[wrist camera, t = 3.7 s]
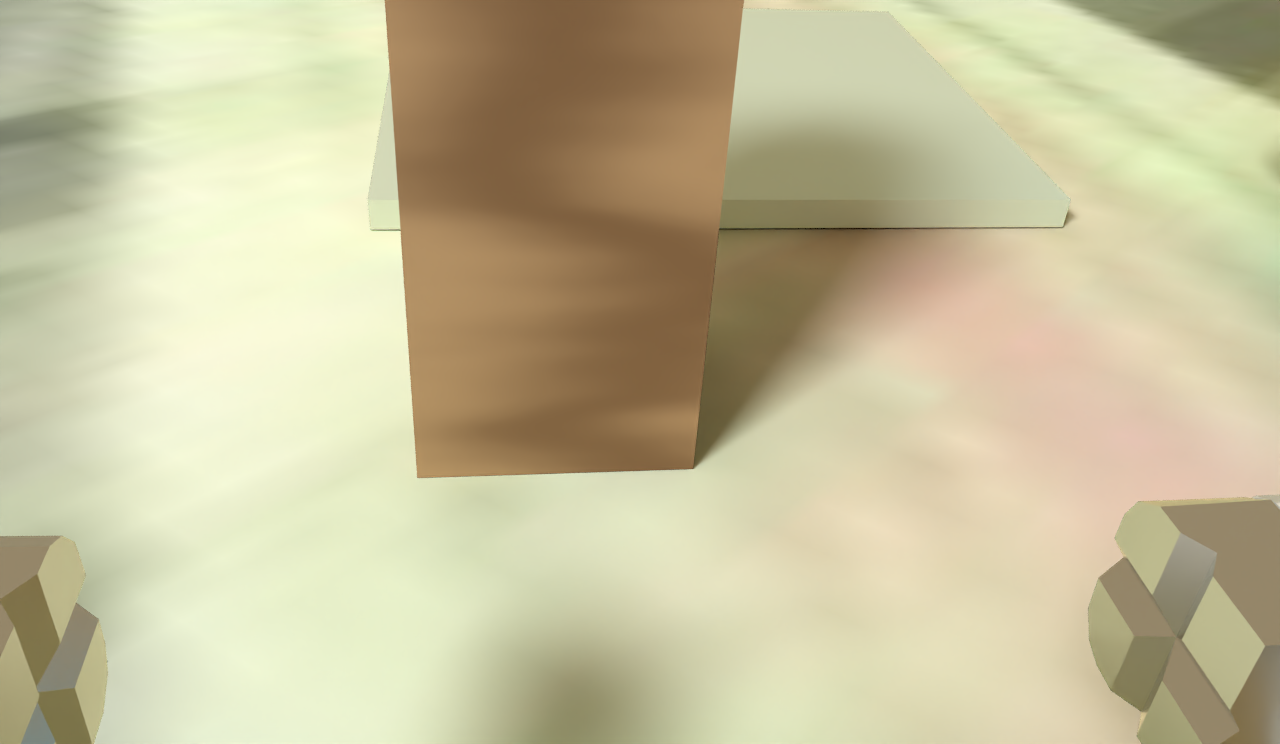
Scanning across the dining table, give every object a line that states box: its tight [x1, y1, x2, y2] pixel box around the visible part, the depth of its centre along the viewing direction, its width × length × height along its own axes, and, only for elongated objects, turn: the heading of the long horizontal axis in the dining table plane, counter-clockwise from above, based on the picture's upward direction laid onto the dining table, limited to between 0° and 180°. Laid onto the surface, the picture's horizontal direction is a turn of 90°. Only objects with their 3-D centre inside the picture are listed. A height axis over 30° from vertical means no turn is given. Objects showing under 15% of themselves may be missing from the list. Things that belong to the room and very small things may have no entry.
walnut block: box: [385, 0, 744, 478], centre depth 19 cm, size 5×5×12 cm
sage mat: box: [368, 8, 1071, 230], centre depth 35 cm, size 18×16×1 cm
